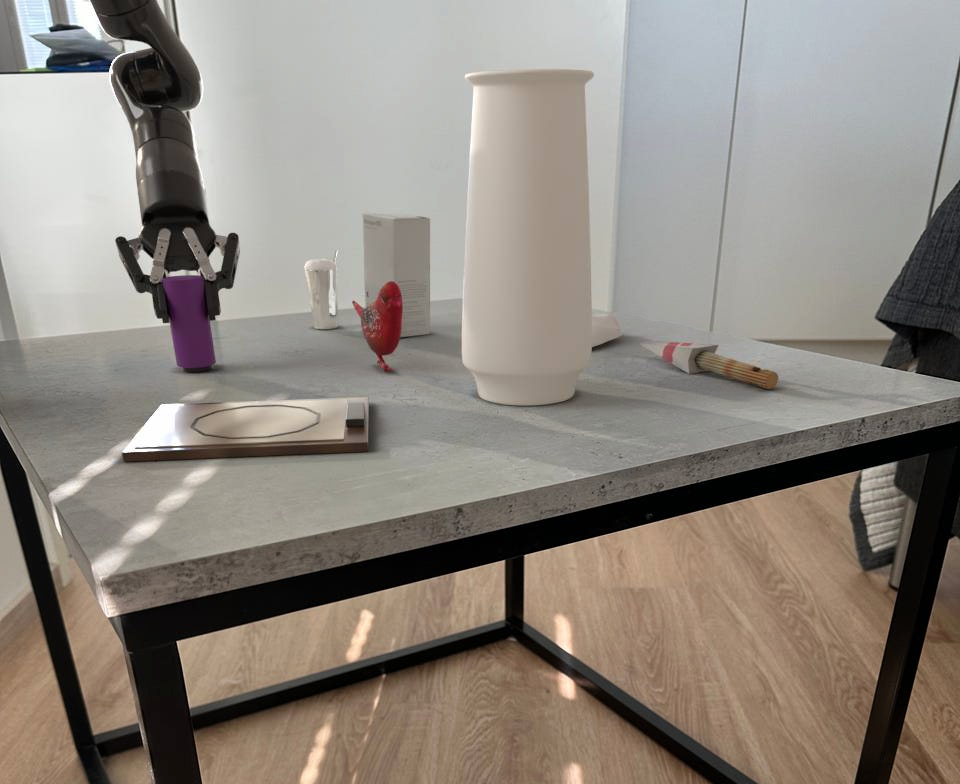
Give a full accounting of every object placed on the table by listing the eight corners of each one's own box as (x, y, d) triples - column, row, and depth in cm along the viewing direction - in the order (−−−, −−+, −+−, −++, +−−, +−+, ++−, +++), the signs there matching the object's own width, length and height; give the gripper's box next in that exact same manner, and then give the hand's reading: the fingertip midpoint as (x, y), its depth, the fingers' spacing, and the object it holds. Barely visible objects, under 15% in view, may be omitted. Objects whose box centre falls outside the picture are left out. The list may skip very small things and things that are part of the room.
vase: (523, 374, 102) (525, 80, 89) (615, 392, 94) (633, 72, 81) (436, 395, 94) (425, 75, 81) (529, 417, 86) (533, 66, 73)
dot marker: (174, 374, 105) (158, 280, 100) (181, 366, 109) (166, 275, 104) (213, 372, 105) (199, 279, 101) (219, 364, 109) (206, 274, 105)
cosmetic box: (365, 330, 128) (357, 213, 121) (401, 325, 131) (396, 211, 124) (397, 339, 122) (391, 216, 115) (435, 333, 125) (431, 213, 118)
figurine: (530, 314, 132) (526, 188, 123) (645, 327, 122) (650, 192, 113) (445, 352, 119) (434, 214, 110) (567, 370, 109) (566, 222, 100)
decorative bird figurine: (391, 383, 100) (385, 284, 95) (345, 354, 114) (338, 267, 109) (416, 380, 100) (412, 283, 96) (367, 352, 115) (361, 266, 110)
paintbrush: (662, 327, 109) (787, 365, 94) (659, 351, 111) (782, 392, 96) (636, 330, 108) (759, 369, 93) (634, 354, 109) (755, 396, 94)
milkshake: (353, 326, 131) (347, 250, 127) (323, 331, 128) (316, 254, 123) (333, 322, 134) (326, 248, 130) (303, 327, 131) (295, 251, 126)
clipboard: (123, 462, 76) (119, 443, 75) (162, 412, 90) (160, 397, 89) (368, 451, 77) (366, 434, 77) (369, 404, 91) (368, 389, 91)
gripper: (100, 169, 102) (115, 299, 97) (232, 166, 105) (252, 292, 101) (113, 218, 109) (127, 342, 105) (236, 214, 112) (255, 334, 108)
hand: (189, 316), depth 103 cm, fingers closed on dot marker, 4 cm apart
